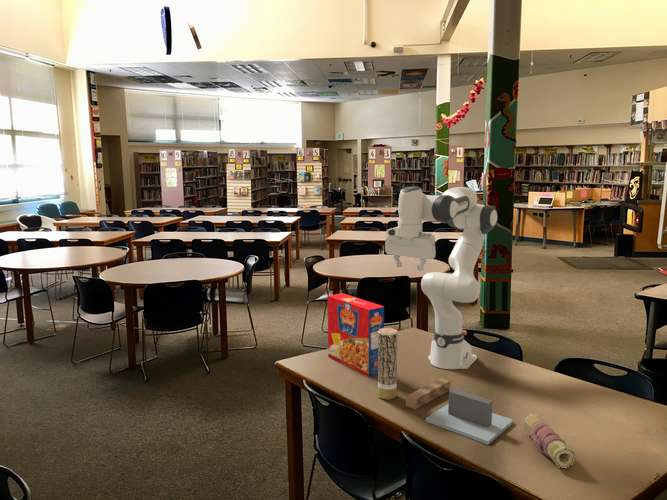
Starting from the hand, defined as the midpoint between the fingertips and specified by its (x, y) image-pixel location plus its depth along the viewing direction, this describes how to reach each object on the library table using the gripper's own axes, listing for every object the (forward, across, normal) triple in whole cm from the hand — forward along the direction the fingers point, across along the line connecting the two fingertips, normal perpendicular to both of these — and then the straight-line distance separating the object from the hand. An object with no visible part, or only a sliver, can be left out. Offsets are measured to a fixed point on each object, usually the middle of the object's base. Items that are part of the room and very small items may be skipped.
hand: (409, 268), depth 192 cm
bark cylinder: (+46, +1, +12) cm, 48 cm away
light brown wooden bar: (+46, -11, +3) cm, 48 cm away
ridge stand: (+46, -31, +10) cm, 57 cm away
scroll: (+46, -56, +11) cm, 74 cm away
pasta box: (+46, +30, -4) cm, 55 cm away
